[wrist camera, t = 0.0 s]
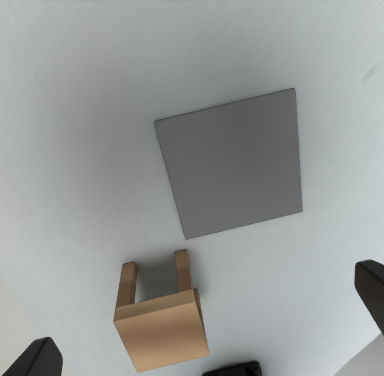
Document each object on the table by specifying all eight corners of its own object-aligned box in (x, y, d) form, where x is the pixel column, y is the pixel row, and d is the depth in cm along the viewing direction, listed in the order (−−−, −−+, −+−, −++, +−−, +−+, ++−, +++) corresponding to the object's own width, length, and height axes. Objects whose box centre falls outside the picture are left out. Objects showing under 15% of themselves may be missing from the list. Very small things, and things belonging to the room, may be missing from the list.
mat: (300, 209, 25) (302, 211, 25) (185, 237, 25) (185, 239, 25) (292, 88, 21) (295, 88, 20) (154, 121, 21) (153, 122, 20)
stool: (199, 296, 28) (209, 355, 22) (141, 310, 28) (137, 372, 22) (186, 249, 25) (193, 302, 20) (122, 264, 25) (113, 321, 20)
